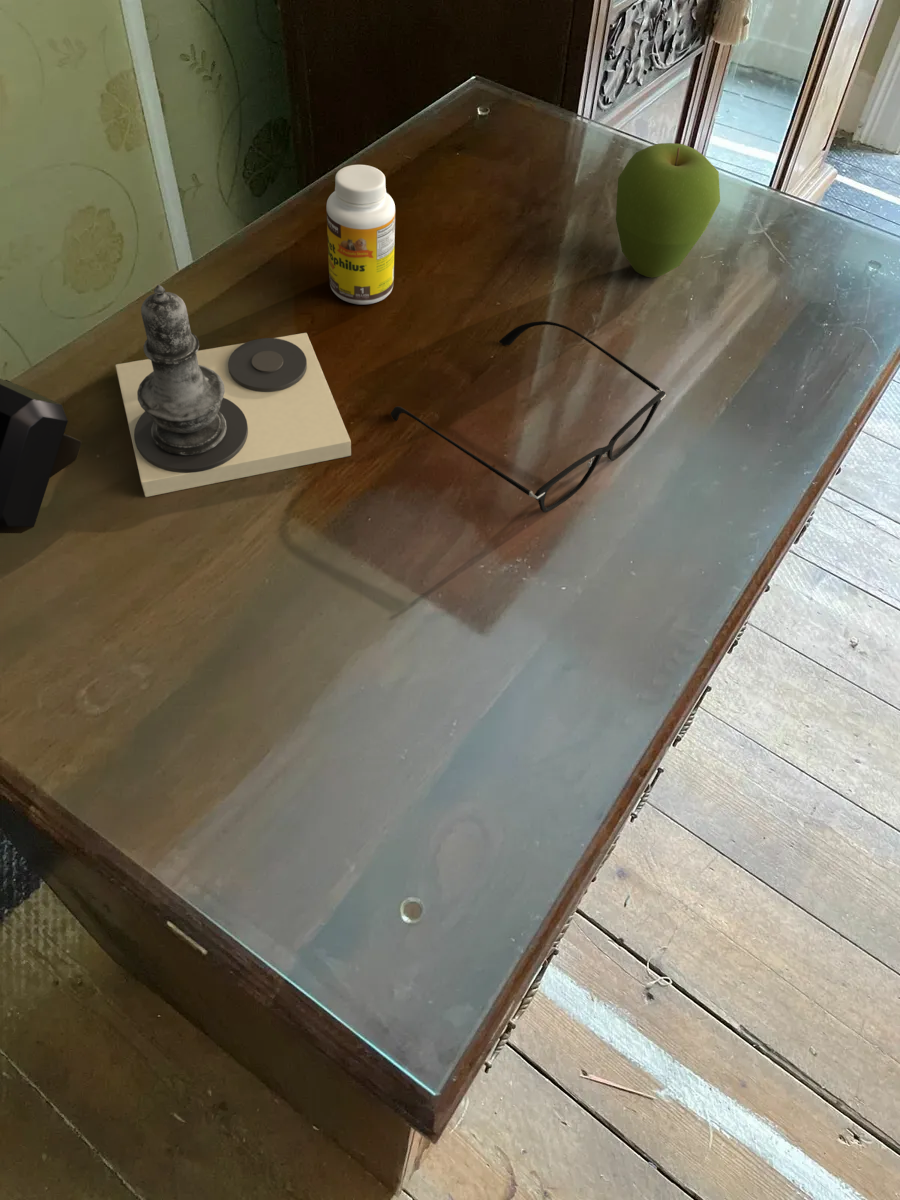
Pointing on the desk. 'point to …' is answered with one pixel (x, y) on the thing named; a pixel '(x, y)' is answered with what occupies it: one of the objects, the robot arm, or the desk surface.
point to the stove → (245, 416)
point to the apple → (664, 205)
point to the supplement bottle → (361, 236)
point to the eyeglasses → (596, 453)
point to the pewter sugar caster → (178, 381)
